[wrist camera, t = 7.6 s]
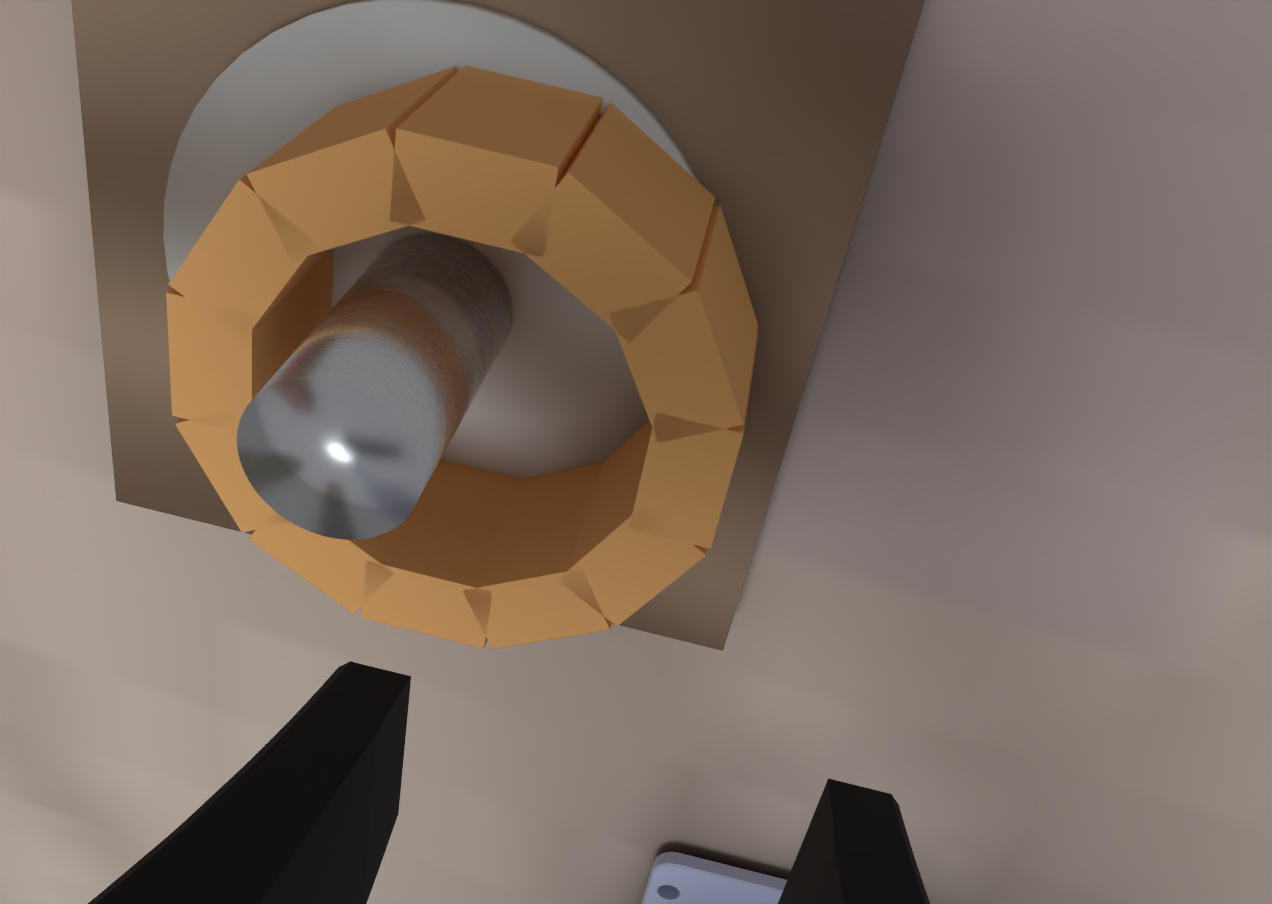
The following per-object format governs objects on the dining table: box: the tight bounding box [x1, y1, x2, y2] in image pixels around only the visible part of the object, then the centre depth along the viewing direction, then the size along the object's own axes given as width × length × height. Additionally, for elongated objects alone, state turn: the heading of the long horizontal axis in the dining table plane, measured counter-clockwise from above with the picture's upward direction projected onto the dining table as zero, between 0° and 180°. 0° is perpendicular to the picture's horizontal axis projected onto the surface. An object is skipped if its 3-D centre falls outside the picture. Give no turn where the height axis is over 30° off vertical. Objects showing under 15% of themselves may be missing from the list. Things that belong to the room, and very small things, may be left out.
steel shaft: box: [237, 233, 513, 540], centre depth 16 cm, size 2×2×5 cm
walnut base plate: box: [72, 0, 925, 651], centre depth 19 cm, size 12×12×1 cm
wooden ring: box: [166, 65, 758, 649], centre depth 17 cm, size 8×8×3 cm
